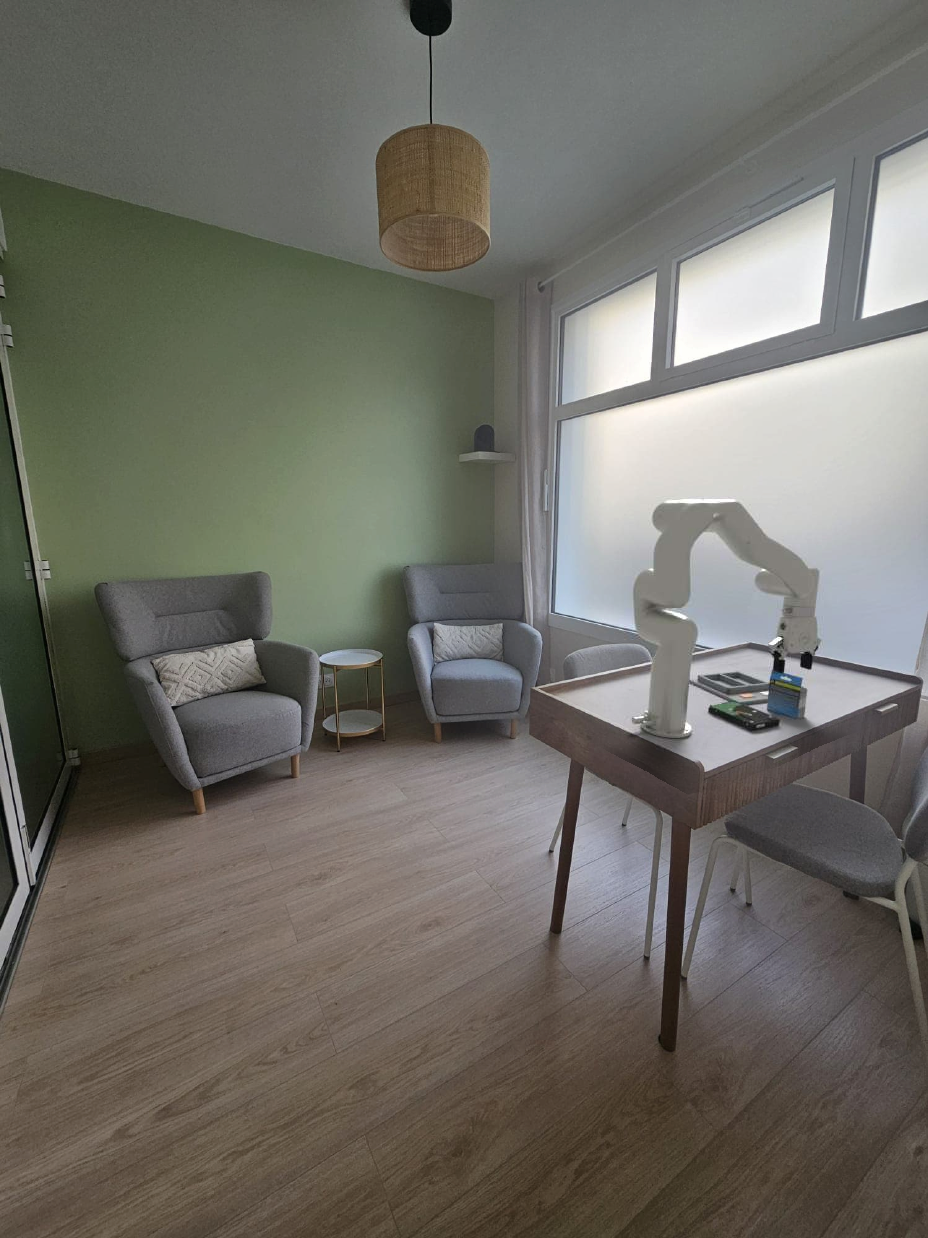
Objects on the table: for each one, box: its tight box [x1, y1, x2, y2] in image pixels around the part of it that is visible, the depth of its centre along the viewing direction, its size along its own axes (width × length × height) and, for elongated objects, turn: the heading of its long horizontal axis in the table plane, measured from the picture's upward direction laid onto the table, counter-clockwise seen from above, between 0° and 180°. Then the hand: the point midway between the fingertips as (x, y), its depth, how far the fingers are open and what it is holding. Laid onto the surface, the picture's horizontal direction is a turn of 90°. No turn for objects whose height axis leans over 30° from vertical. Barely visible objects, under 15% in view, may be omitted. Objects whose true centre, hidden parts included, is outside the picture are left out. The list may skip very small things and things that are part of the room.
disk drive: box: [707, 701, 781, 733], centre depth 142 cm, size 10×3×15 cm
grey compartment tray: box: [689, 670, 770, 706], centre depth 165 cm, size 20×22×3 cm
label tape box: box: [766, 669, 808, 720], centre depth 145 cm, size 9×4×12 cm, turn 30°
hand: (792, 670), depth 144 cm, fingers open, 9 cm apart
